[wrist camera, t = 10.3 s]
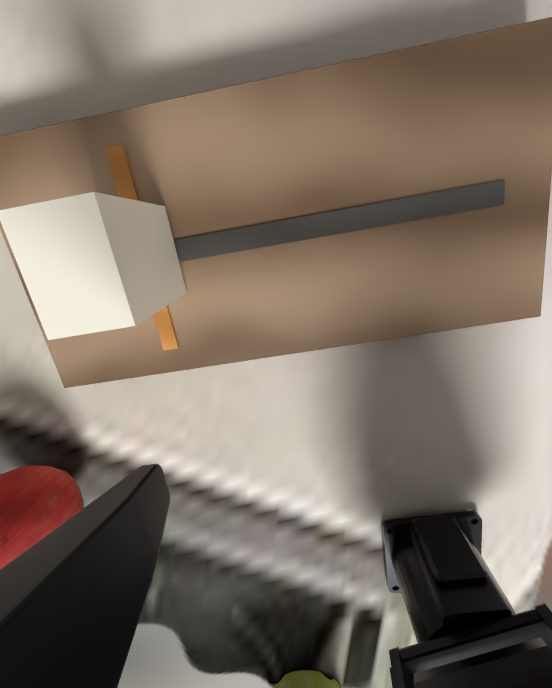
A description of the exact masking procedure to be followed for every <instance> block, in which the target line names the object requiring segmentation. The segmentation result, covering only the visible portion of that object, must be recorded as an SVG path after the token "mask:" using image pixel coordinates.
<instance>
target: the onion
mask: <svg viewBox="0 0 552 688" xmlns="http://www.w3.org/2000/svg"><path fill="white" fill-rule="evenodd" d="M82 509H83V499H82V495H81V491H80V489H79V487H78V485H77V483H76V482H75V481H74V479H73V478H72V477H71V475H70V474H69V473H68V472H67V471H65V470H61V469H57V468H54V467H51V466H38V465H27V466H24V467H21V468H18V469H15V470H12V471H9V472H6V473H3V474H1V475H0V569H2V568H3V567H4V566H6V565H7V564H8V563H10V562H11V561H13V560H14V559H15V558H17V557H18V556H19V555H21V554H22V553H23V552H25V551H26V550H27V549H29V548H30V547H32V546H33V545H34V544H36V543H37V542H38V541H40V540H41V539H42V538H44V537H45V536H47V535H48V534H49V533H51V532H52V531H53V530H55V529H56V528H57V527H59V526H60V525H62V524H63V523H64V522H66V521H67V520H68V519H70V518H71V517H72V516H74V515H75V514H76V513H78V512H79V511H81V510H82Z"/></svg>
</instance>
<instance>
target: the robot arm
mask: <svg viewBox="0 0 552 688" xmlns="http://www.w3.org/2000/svg"><path fill="white" fill-rule="evenodd" d="M169 504H170V491H169V488H168V485H167V482H166V479H165V476H164V473H163V470H162V468H161V466H160V465H159V464H151V465H143V466H141V467H139V468H138V469H136V470H135V471H134V472H132V473H131V474H130V475H128V476H127V477H125V478H124V479H123V480H121V481H120V482H119V483H117V484H116V485H115V486H113V487H112V488H111V489H109V490H108V491H106V492H105V493H104V494H102V495H101V496H100V497H98V498H97V499H96V500H94V501H93V502H91V503H90V504H89V505H87V506H86V507H85V508H83V509H82V510H81V511H79V512H78V513H76V514H75V515H74V516H72V517H71V518H70V519H68V520H67V521H66V522H64V523H63V524H62V525H60V526H59V527H57V528H56V529H55V530H53V531H52V532H51V533H49V534H48V535H47V536H45V537H44V538H42V539H41V540H40V541H38V542H37V543H36V544H34V545H33V546H32V547H30V548H29V549H27V550H26V551H25V552H23V553H22V554H21V555H19V556H18V557H17V558H15V559H14V560H13V561H11V562H10V563H8V564H7V565H6V566H4V567H3V568H2V569H0V688H117V687H118V683H119V680H120V677H121V674H122V671H123V668H124V665H125V662H126V659H127V655H128V652H129V649H130V646H131V643H132V640H133V637H134V634H135V630H136V627H137V624H138V621H139V618H140V615H141V612H142V609H143V606H144V603H145V599H146V596H147V593H148V590H149V587H150V584H151V581H152V577H153V574H154V571H155V567H156V563H157V559H158V554H159V550H160V545H161V541H162V536H163V531H164V527H165V522H166V517H167V513H168V508H169ZM472 519H473V520H472ZM389 528H390V529H389ZM382 533H383V544H384V555H385V566H386V577H387V585H388V588H389V591H390V592H391V593H402V595H403V599H404V602H405V605H406V608H407V611H408V614H409V617H410V620H411V623H412V627H413V630H414V633H415V636H416V639H417V642H418V644H415V645H411V646H408V647H405V648H402V649H399V648H398V647H397V648H394V649H391V650H389V654H390V660H391V666H392V667H391V668H390V674H391V680H392V686H393V688H552V612H551V611H550V609H549V608H548V607H547V606H546V604H545V603H543V604H539V605H536V606H534V609H531V610H527V611H524V612H521V613H517V614H516V613H515V611H514V609H513V608H512V606H511V604H510V603H509V601H508V599H507V598H506V596H505V594H504V593H503V591H502V589H501V588H500V586H499V585H498V583H497V581H496V580H495V578H494V576H493V575H492V573H491V571H490V570H489V568H488V566H487V565H486V563H485V561H484V560H483V558H482V556H481V542H482V519H481V517H480V516H479V514H478V513H477V512H474V511H469V512H460V513H451V514H442V515H433V516H424V517H415V518H406V519H396V520H388V521H385V522H384V523H383V524H382Z"/></svg>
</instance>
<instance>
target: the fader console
mask: <svg viewBox="0 0 552 688" xmlns="http://www.w3.org/2000/svg"><path fill="white" fill-rule="evenodd" d="M551 173H552V17H550V18H546V19H541V20H536V21H532V22H527V23H522V24H518V25H513V26H508V27H504V28H499V29H495V30H490V31H485V32H481V33H476V34H471V35H467V36H462V37H457V38H453V39H448V40H443V41H439V42H434V43H430V44H425V45H420V46H416V47H411V48H406V49H402V50H397V51H392V52H388V53H383V54H379V55H374V56H369V57H365V58H360V59H355V60H351V61H346V62H341V63H337V64H332V65H328V66H323V67H318V68H314V69H309V70H304V71H300V72H295V73H290V74H286V75H281V76H277V77H272V78H267V79H263V80H258V81H253V82H249V83H244V84H239V85H235V86H230V87H225V88H221V89H216V90H212V91H207V92H202V93H198V94H193V95H188V96H184V97H179V98H174V99H170V100H165V101H161V102H156V103H151V104H147V105H142V106H137V107H133V108H128V109H123V110H119V111H114V112H110V113H105V114H100V115H96V116H91V117H86V118H82V119H77V120H72V121H68V122H63V123H58V124H54V125H49V126H45V127H40V128H35V129H31V130H26V131H21V132H17V133H12V134H7V135H3V136H0V210H4V209H9V208H14V207H19V206H24V205H29V204H34V203H39V202H44V201H50V200H55V199H60V198H65V197H70V196H75V195H80V194H85V193H90V192H97V193H102V194H107V195H112V196H117V197H122V198H127V199H132V200H136V201H141V202H146V203H151V204H156V205H161V206H165V209H166V213H167V217H168V221H169V224H170V228H171V232H172V236H173V240H174V244H175V248H176V252H177V256H178V260H179V264H180V268H181V272H182V276H183V280H184V284H185V287H186V291H187V293H186V294H185V295H183V296H182V297H180V298H179V299H177V300H175V301H174V302H172V303H171V304H169V305H168V306H166V307H164V308H163V309H161V310H160V311H158V312H157V313H155V314H153V315H152V316H150V317H149V318H147V319H146V320H144V321H142V322H141V323H139V324H138V325H136V326H132V327H126V328H120V329H114V330H108V331H102V332H96V333H89V334H83V335H77V336H71V337H65V338H59V339H53V340H48V339H47V336H46V334H45V331H44V329H43V326H42V324H41V321H40V319H39V316H38V314H37V311H36V309H35V306H34V304H33V301H32V299H31V296H30V294H29V291H28V289H27V286H26V284H25V281H24V279H23V276H22V274H21V271H20V269H19V266H18V264H17V262H16V259H15V257H14V254H13V252H12V249H11V247H10V244H9V242H8V239H7V237H6V234H5V232H4V229H3V227H2V224H1V222H0V229H1V232H2V234H3V237H4V239H5V242H6V244H7V247H8V249H9V252H10V254H11V256H12V259H13V261H14V264H15V266H16V269H17V271H18V274H19V276H20V279H21V281H22V284H23V286H24V289H25V291H26V294H27V296H28V299H29V301H30V304H31V306H32V308H33V311H34V313H35V316H36V318H37V321H38V323H39V326H40V328H41V331H42V333H43V336H44V338H45V341H46V343H47V346H48V348H49V351H50V353H51V356H52V358H53V361H54V363H55V365H56V368H57V370H58V373H59V375H60V378H61V380H62V383H63V385H64V388H68V387H74V386H81V385H88V384H94V383H101V382H107V381H114V380H121V379H127V378H134V377H141V376H147V375H154V374H161V373H167V372H174V371H180V370H187V369H194V368H200V367H207V366H214V365H220V364H227V363H234V362H240V361H247V360H253V359H260V358H267V357H273V356H280V355H287V354H293V353H300V352H307V351H313V350H320V349H326V348H333V347H340V346H346V345H353V344H360V343H366V342H373V341H379V340H386V339H393V338H399V337H406V336H413V335H419V334H426V333H433V332H439V331H446V330H452V329H459V328H466V327H472V326H479V325H486V324H492V323H499V322H506V321H512V320H519V319H525V318H532V317H539V316H541V303H542V290H543V277H544V264H545V251H546V238H547V225H548V212H549V199H550V186H551Z"/></svg>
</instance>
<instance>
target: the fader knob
mask: <svg viewBox="0 0 552 688" xmlns="http://www.w3.org/2000/svg"><path fill="white" fill-rule="evenodd" d="M0 222H1V224H2V227H3V229H4V232H5V234H6V237H7V239H8V242H9V244H10V247H11V249H12V252H13V254H14V257H15V259H16V262H17V264H18V266H19V269H20V271H21V274H22V276H23V279H24V281H25V284H26V286H27V289H28V291H29V294H30V296H31V299H32V301H33V304H34V306H35V309H36V311H37V314H38V316H39V319H40V321H41V324H42V326H43V329H44V331H45V334H46V336H47V339H48V340H53V339H59V338H65V337H71V336H77V335H83V334H89V333H96V332H102V331H108V330H114V329H120V328H126V327H132V326H136V325H138V324H139V323H141V322H142V321H144V320H146V319H147V318H149V317H150V316H152V315H153V314H155V313H157V312H158V311H160V310H161V309H163V308H164V307H166V306H168V305H169V304H171V303H172V302H174V301H175V300H177V299H179V298H180V297H182V296H183V295H185V294H186V293H187V291H186V287H185V284H184V280H183V276H182V272H181V268H180V264H179V260H178V256H177V252H176V248H175V244H174V240H173V236H172V232H171V228H170V224H169V221H168V217H167V213H166V209H165V206H161V205H156V204H151V203H146V202H141V201H136V200H132V199H127V198H122V197H117V196H112V195H107V194H102V193H97V192H90V193H85V194H80V195H75V196H70V197H65V198H60V199H55V200H50V201H44V202H39V203H34V204H29V205H24V206H19V207H14V208H9V209H4V210H0Z"/></svg>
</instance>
